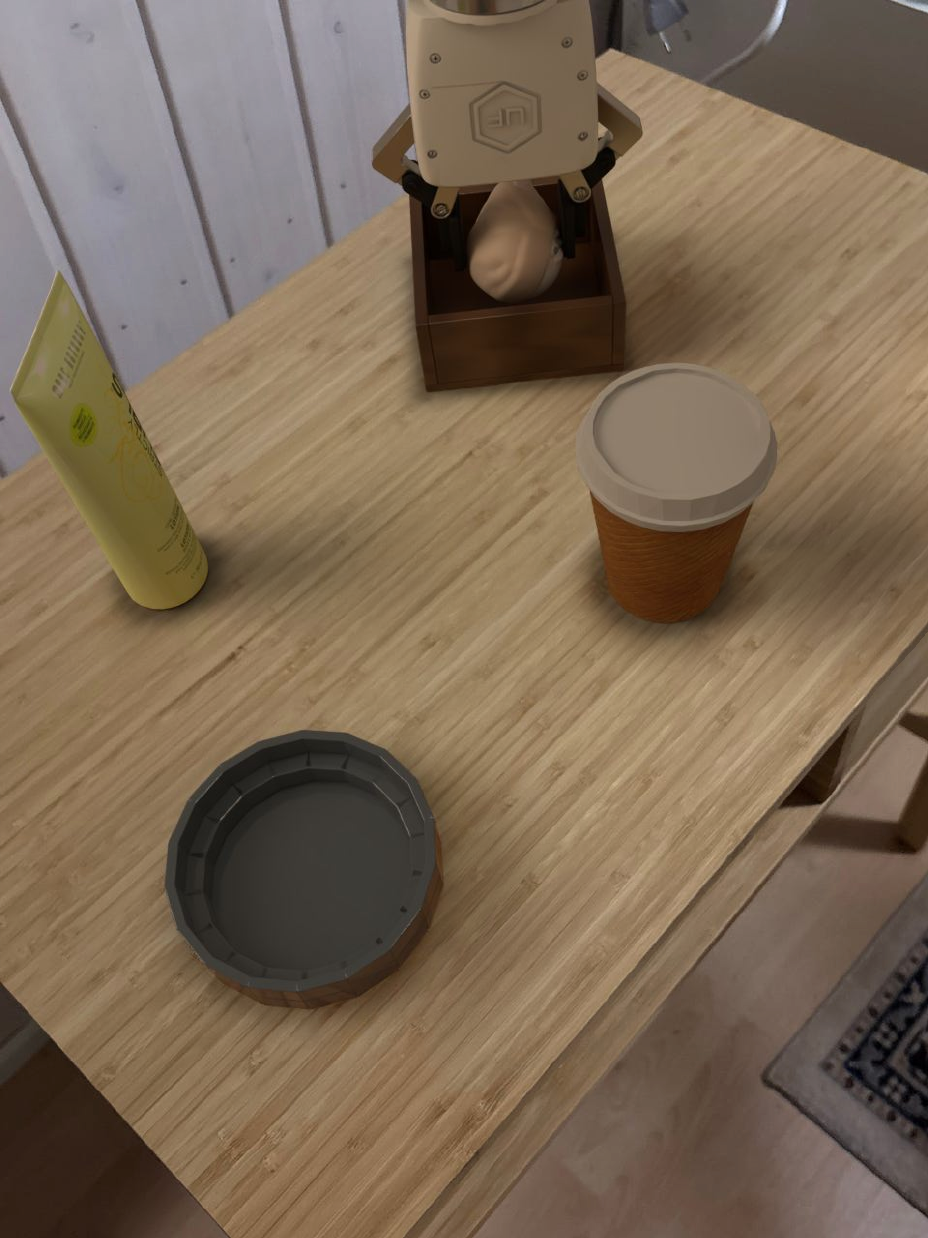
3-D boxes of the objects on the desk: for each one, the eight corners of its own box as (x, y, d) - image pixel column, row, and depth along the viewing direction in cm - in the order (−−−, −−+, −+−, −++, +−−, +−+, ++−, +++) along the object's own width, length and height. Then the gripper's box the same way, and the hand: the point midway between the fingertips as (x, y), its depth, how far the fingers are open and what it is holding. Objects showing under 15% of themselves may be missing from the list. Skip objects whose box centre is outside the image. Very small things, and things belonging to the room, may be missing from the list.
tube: (231, 587, 66) (113, 333, 50) (153, 635, 65) (7, 389, 48) (185, 527, 69) (59, 267, 52) (110, 571, 67) (-43, 319, 51)
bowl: (437, 749, 59) (429, 717, 56) (450, 1001, 52) (441, 980, 49) (197, 771, 60) (177, 741, 57) (177, 1024, 53) (153, 1004, 50)
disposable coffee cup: (678, 680, 60) (695, 543, 50) (542, 584, 64) (533, 439, 54) (786, 567, 63) (823, 416, 53) (650, 482, 67) (660, 327, 57)
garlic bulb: (587, 281, 74) (587, 173, 67) (518, 335, 72) (511, 229, 65) (514, 239, 77) (506, 131, 70) (445, 289, 75) (431, 184, 68)
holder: (600, 240, 79) (600, 169, 75) (624, 370, 72) (626, 302, 68) (419, 260, 80) (408, 192, 75) (426, 392, 73) (415, 325, 68)
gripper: (319, 18, 55) (377, 307, 70) (679, -27, 54) (660, 275, 69) (321, -61, 59) (376, 227, 74) (656, -104, 58) (643, 196, 73)
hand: (513, 248), depth 72 cm, fingers closed on garlic bulb, 6 cm apart
